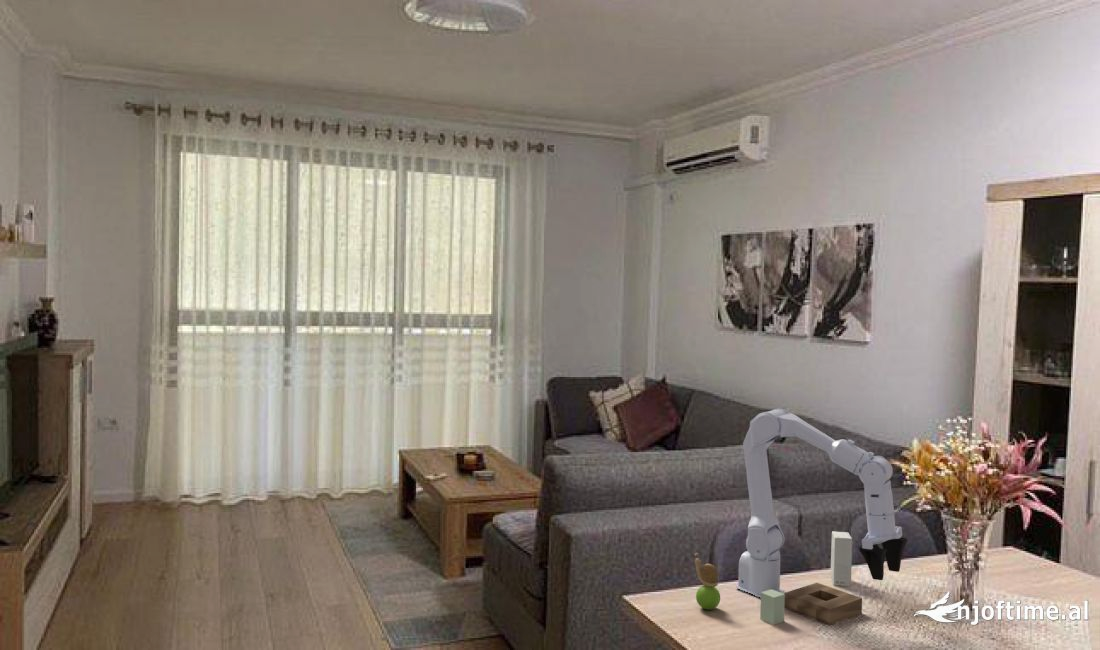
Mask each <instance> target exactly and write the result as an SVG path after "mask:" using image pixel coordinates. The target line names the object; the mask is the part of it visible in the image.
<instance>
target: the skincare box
mask: <svg viewBox="0 0 1100 650" xmlns="http://www.w3.org/2000/svg"><path fill="white" fill-rule="evenodd" d="M830 545H831V549H830V550H831V551H830V552H831V553H830V557H831V558H830V576H831V577H830V579H832V580H831V581H832V585H834V586H838V585H841V586H842V587H851V586H852V565H853V563H852V562H853V558H852V556H853V538H852V536H851V535H850V533H849V532H848V531H847V532H846V531H835V530H834V531H833V530H832V532H831V544H830Z"/></svg>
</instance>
